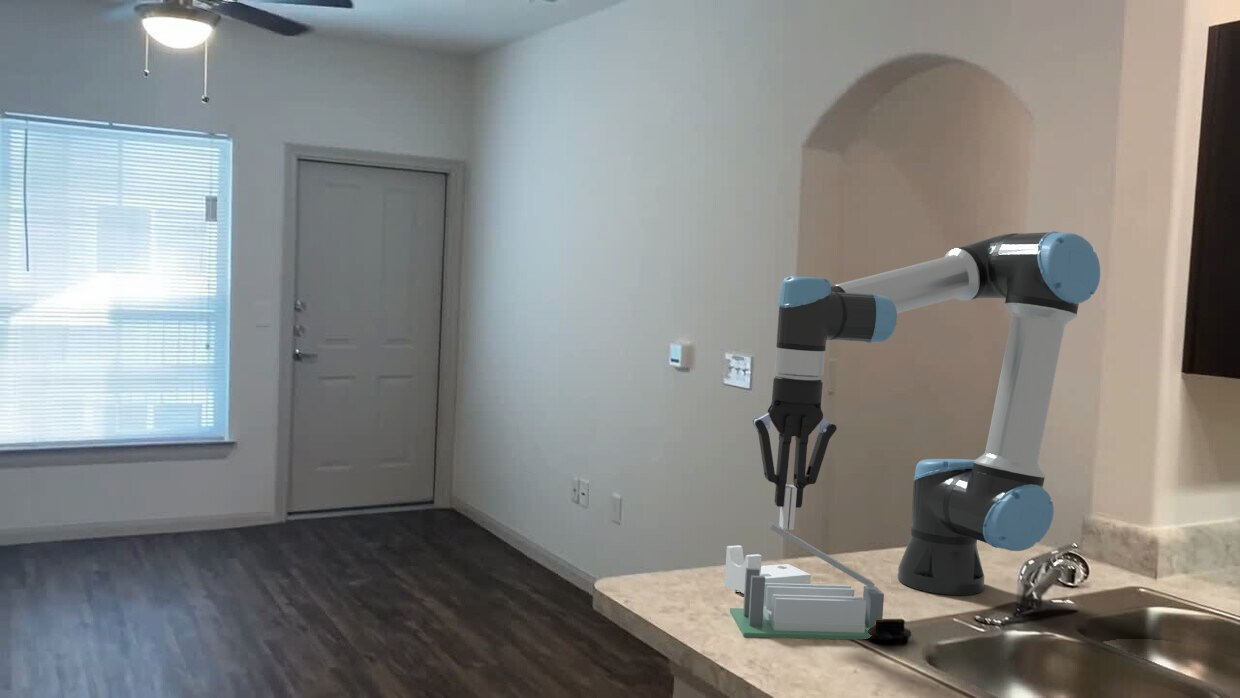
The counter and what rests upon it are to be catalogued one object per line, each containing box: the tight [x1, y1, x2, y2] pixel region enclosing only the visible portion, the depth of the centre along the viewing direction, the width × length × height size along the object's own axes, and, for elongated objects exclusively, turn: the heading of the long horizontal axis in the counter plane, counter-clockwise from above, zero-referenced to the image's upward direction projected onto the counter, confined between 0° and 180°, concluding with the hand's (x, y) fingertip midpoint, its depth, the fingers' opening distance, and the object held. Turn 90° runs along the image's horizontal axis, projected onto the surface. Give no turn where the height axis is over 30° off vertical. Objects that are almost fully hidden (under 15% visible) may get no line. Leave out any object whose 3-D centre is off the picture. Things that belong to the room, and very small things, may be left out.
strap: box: [766, 520, 875, 588], centre depth 167 cm, size 19×2×1 cm, turn 94°
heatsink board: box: [729, 568, 885, 640], centre depth 168 cm, size 23×12×8 cm, turn 94°
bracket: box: [724, 544, 812, 595], centre depth 186 cm, size 13×7×8 cm, turn 115°
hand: (786, 527), depth 166 cm, fingers closed
